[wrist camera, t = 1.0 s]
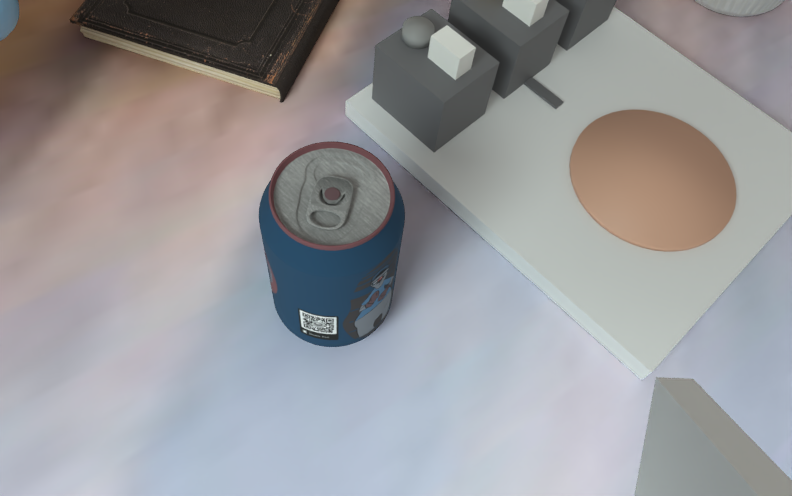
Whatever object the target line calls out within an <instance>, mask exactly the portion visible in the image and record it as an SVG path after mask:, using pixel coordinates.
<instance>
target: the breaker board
mask: <svg viewBox="0 0 792 496" xmlns="http://www.w3.org/2000/svg"><path fill="white" fill-rule="evenodd" d="M615 2H616V0H452V2H451V7H450V13H449V18H448V21H447V20H445V19H444V18H443V17H441V16H440V15H439V14H438V13H436V12H435V11H434V10H433V9H430V10H429V11H427V12H426V13H424V14H423V15H421V16H414V17H410V18H408V19H407V20H405V22H404V23H403V28H401V29H400V30H398V31H397V32H395V33H394V34H392V35H391V36H389V37H388V38H386V39H384V40H383V41H381V42H380V43H378V44H377V45H375V59H374V74H373V83H372V84H370V85H369V86H367V87H366V88H364V89H363V90H361V91H360V92H358V93H357V94H355V95H354V96H352V97H351V98H349V99H348V100H347V101H346V116H347V117H348V118H349V119H350V120H351V121H353V122H354V123H355V124H356V125H357V126H358V127H359V128H360V129H361V130H363V131H364V132H365V133H366V134H367V135H368V136H369V137H370V138H372V139H373V140H374V141H375V142H376V143H377V144H378V145H379V146H380V147H382V148H383V149H384V150H385V151H386V152H387V153H388V154H389V155H391V156H392V157H393V158H394V159H395V160H396V161H397V162H398V163H399V164H401V165H402V166H403V167H404V168H405V169H406V170H407V171H408V172H410V173H411V174H412V175H413V176H414V177H415V178H416V179H417V180H418V181H420V182H421V183H422V184H423V185H424V186H425V187H426V188H427V189H429V190H430V191H431V192H432V193H433V194H434V195H435V196H436V197H437V198H439V199H440V200H441V201H442V202H443V203H444V204H445V205H446V206H448V207H449V208H450V209H451V210H452V211H453V212H454V213H455V214H456V215H458V216H459V217H460V218H461V219H462V220H463V221H464V222H465V223H466V224H468V225H469V226H470V227H471V228H472V229H473V230H474V231H475V232H477V233H478V234H479V235H480V236H481V237H482V238H483V239H484V240H485V241H487V242H488V243H489V244H490V245H491V246H492V247H493V248H494V249H496V250H497V251H498V252H499V253H500V254H501V255H502V256H503V257H504V258H506V259H507V260H508V261H509V262H510V263H511V264H512V265H513V266H515V267H516V268H517V269H518V270H519V271H520V272H521V273H522V274H523V275H525V276H526V277H527V278H528V279H529V280H530V281H531V282H532V283H534V284H535V285H536V286H537V287H538V288H539V289H540V290H541V291H542V292H544V293H545V294H546V295H547V296H548V297H549V298H550V299H551V300H553V301H554V302H555V303H556V304H557V305H558V306H559V307H560V308H561V309H563V310H564V311H565V312H566V313H567V314H568V315H569V316H570V317H571V318H573V319H574V320H575V321H576V322H577V323H578V324H579V325H580V326H582V327H583V328H584V329H585V330H586V331H587V332H588V333H589V334H590V335H592V336H593V337H594V338H595V339H596V340H597V341H598V342H599V343H601V344H602V345H603V346H604V347H605V348H606V349H607V350H608V351H609V352H611V353H612V354H613V355H614V356H615V357H616V358H617V359H618V360H620V361H621V362H622V363H623V364H624V365H625V366H626V367H627V368H628V369H630V370H631V371H632V372H633V373H634V374H635V375H636V376H637V377H639V378H640V379H641V380H643V379H644V378H645V377H647V376H648V375H649V374H650V373H652V372H653V370H654V369H655V368H656V367H657V366H658V365H659V364H660V362H661V361H662V360H663V359H664V358H665V357H666V356H667V355H668V353H669V352H670V351H671V350H672V349H673V348H674V347H675V346H676V344H677V343H678V342H679V341H680V340H681V339H682V338H683V337H684V335H685V334H686V333H687V332H688V331H689V330H690V329H691V328H692V326H693V325H694V324H695V323H696V322H697V321H698V320H699V319H700V317H701V316H702V315H703V314H704V313H705V312H706V311H707V310H708V308H709V307H710V306H711V305H712V304H713V303H714V302H715V301H716V299H717V298H718V297H719V296H720V295H721V294H722V293H723V292H724V290H725V289H726V288H727V287H728V286H729V285H730V284H731V283H732V281H733V280H734V279H735V278H736V277H737V276H738V275H739V274H740V272H741V271H742V270H743V269H744V268H745V267H746V266H747V265H748V263H749V262H750V261H751V260H752V259H753V258H754V257H755V255H756V254H757V253H758V252H759V251H760V250H761V249H762V248H763V246H764V245H765V244H766V243H767V242H768V241H769V240H770V239H771V237H772V236H773V235H774V234H775V233H776V232H777V231H778V230H779V228H780V227H781V226H782V225H783V224H784V223H785V222H786V221H787V219H788V218H789V217H790V216H791V215H792V132H791V131H789V130H788V129H787V128H785V127H784V126H782V125H781V124H779V123H778V122H777V121H775V120H774V119H772V118H771V117H770V116H768V115H767V114H765V113H764V112H762V111H761V110H760V109H758V108H757V107H755V106H754V105H753V104H751V103H750V102H748V101H747V100H745V99H744V98H743V97H741V96H740V95H738V94H737V93H736V92H734V91H733V90H731V89H730V88H728V87H727V86H726V85H724V84H723V83H721V82H720V81H719V80H717V79H716V78H714V77H713V76H711V75H710V74H709V73H707V72H706V71H704V70H703V69H702V68H700V67H699V66H697V65H696V64H695V63H693V62H692V61H690V60H689V59H687V58H686V57H685V56H683V55H682V54H680V53H679V52H678V51H676V50H675V49H673V48H672V47H670V46H669V45H668V44H666V43H665V42H663V41H662V40H661V39H659V38H658V37H656V36H655V35H653V34H652V33H651V32H649V31H648V30H646V29H645V28H644V27H642V26H641V25H639V24H638V23H636V22H635V21H634V20H632V19H631V18H629V17H628V16H627V15H625V14H624V13H622V12H621V11H619V10H618V9H617V8H615V7H614V5H615Z"/></svg>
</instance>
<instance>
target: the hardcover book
mask: <svg viewBox="0 0 792 496" xmlns="http://www.w3.org/2000/svg"><path fill="white" fill-rule="evenodd" d="M338 1H339V0H85V1H84V3H83V4H82V5H81V6H80V8H79V9H78V10H77V11H76V12H75V14H74V15H73V16H72V17H71V19H70V21H71V23H75V24H78V25H79V26H81V29H80V32H82V33H83V34H84V37H87V38H91V39H94V40H97V41H100V42H103V43H106V44H109V45H112V46H116V47H119V48H122V49H125V50H128V51H131V52H134V53H137V54H141V55H144V56H147V57H150V58H153V59H156V60H159V61H162V62H166V63H169V64H172V65H175V66H178V67H181V68H184V69H187V70H191V71H194V72H197V73H200V74H203V75H206V76H209V77H212V78H215V79H219V80H222V81H225V82H228V83H231V84H234V85H237V86H240V87H244V88H247V89H250V90H253V91H256V92H259V93H262V94H265V95H268V96H272V97H275V98H278V99H280V102H283V101H284V99H285V97H286V95H287V94H288V92H289V90H290V88H291V86H292V85H293V83H294V81H295V79H296V77H297V75H298V74H299V72H300V70H301V68H302V66H303V65H304V63H305V61H306V59H307V57H308V56H309V54H310V52H311V50H312V48H313V46H314V45H315V43H316V41H317V39H318V37H319V36H320V34H321V32H322V30H323V28H324V26H325V25H326V23H327V21H328V19H329V17H330V16H331V14H332V12H333V10H334V8H335V7H336V5H337V3H338Z"/></svg>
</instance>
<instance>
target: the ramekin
mask: <svg viewBox="0 0 792 496" xmlns="http://www.w3.org/2000/svg"><path fill="white" fill-rule="evenodd" d="M694 1H696V2H697V3H699V4H700V5H702V6H704V7H705V8H708V9H710V10H712V11H715V12H717V13H721V14H725V15H729V16H737V17H747V16H755V15H759V14H762V13H766V12H768V11H771V10H773V9H774V8H776V7H777V6H779V5H780V4H781V3H782V2H783V1H784V0H694Z"/></svg>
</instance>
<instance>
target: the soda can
mask: <svg viewBox="0 0 792 496" xmlns="http://www.w3.org/2000/svg"><path fill="white" fill-rule="evenodd" d="M404 221H405V210H404V204H403V200H402V197H401V194H400V192H399V190H398V188H397V187H396V185H395V183H394V182H393V180H392V178H391V176H390V173H389V172H388V170H387V169H386V167H385V166H384V165H383V163H382V162H381V161H380V160H379V159H378V158H377V157H375V156H374V155H373V154H371V153H370V152H368V151H366V150H365V149H362V148H360V147H358V146H355V145H352V144H348V143H343V142H320V143H315V144H311V145H308V146H305V147H303V148H301V149H299V150H297V151H295V152H293V153H292V154H290V155H289V156H288V157H286V158H285V159H284V160H283V161H282V162H281V163H280V164H279V166H278V167H277V169H276V170H275V172H274V174H273V176H272V179H271V181H270V182H269V184H268V185H267V187H266V189H265V191H264V193H263V196H262V199H261V202H260V207H259V223H260V229H261V234H262V239H263V245H264V250H265V255H266V261H267V266H268V272H269V277H270V282H271V288H272V293H273V298H274V304H275V308H276V310H277V313H278V315H279V317H280V319H281V320H282V322H283V323H284V324H285V326H286V327H287V328H288V329H289V330H290V331H291V332H292V333H293V334H295V335H296V336H298V337H299V338H301V339H303V340H305V341H307V342H309V343H312V344H315V345H319V346H326V347H339V346H345V345H350V344H353V343H356V342H358V341H360V340H362V339H364V338H366V337H367V336H369V335H370V334H371V333H373V332H374V331H375V330H376V329H377V328H378V327H379V326H380V325H381V323H382V322H383V320H384V319H385V317H386V315H387V313H388V311H389V308H390V305H391V301H392V295H393V289H394V282H395V276H396V270H397V264H398V258H399V252H400V246H401V240H402V234H403V228H404Z"/></svg>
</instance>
